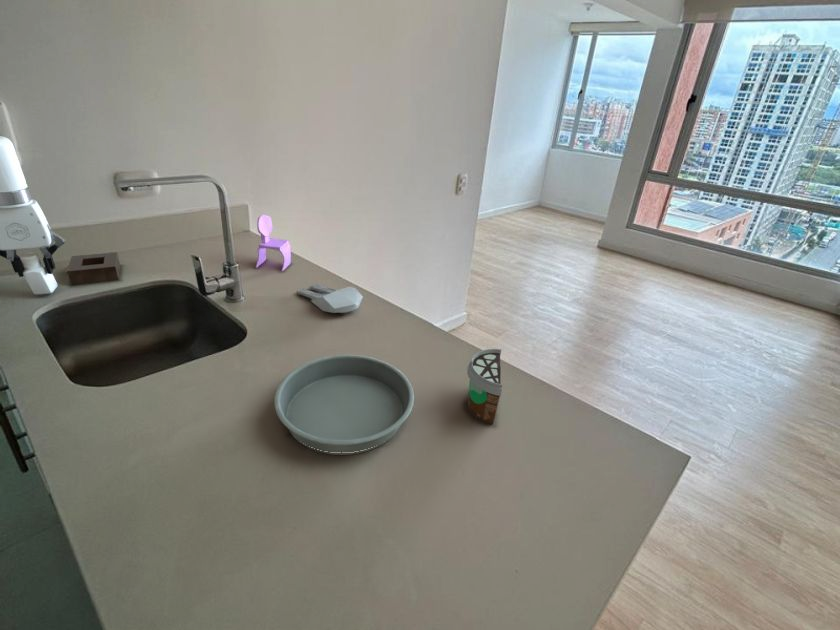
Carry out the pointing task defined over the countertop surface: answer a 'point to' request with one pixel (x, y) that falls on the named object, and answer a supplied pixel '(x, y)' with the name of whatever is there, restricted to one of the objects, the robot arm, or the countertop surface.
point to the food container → (484, 384)
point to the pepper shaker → (37, 275)
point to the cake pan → (344, 403)
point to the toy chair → (271, 242)
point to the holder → (94, 268)
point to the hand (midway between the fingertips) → (36, 272)
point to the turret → (334, 298)
